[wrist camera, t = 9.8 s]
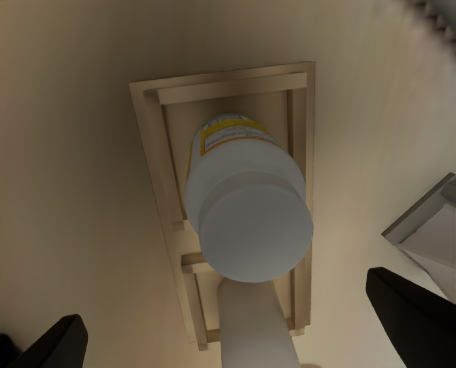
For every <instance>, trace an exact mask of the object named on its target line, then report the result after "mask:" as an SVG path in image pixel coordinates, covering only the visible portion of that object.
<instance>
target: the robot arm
mask: <svg viewBox="0 0 456 368" xmlns="http://www.w3.org/2000/svg"><path fill="white" fill-rule="evenodd" d="M366 293H367V296H368V298H369V300H370V302H371V304H372V306H373V308H374V310H375V312H376V314H377V316H378V318H379V320H380V322H381V324H382V326H383V328H384V330H385V332H386V333H387V335H388V337H389V339H390V341H391V343H392V345H393V346H394V348H395V350H396V351H397V353H398V354H399V356H400V358H401V359H402V361H403V362H404V364H405V365H406V367H407V368H456V304H454V303H452V302H450V301H448V300H446V299H444V298H442V297H440V296H438V295H436V294H435V293H433V292H431V291H429V290H427V289H425V288H423V287H421V286H419V285H417V284H415V283H413V282H411V281H409V280H407V279H405V278H403V277H401V276H399V275H398V274H396V273H394V272H392V271H390V270H388V269H386V268H384V267H375V268H370V269H369V270H368V273H367V281H366ZM87 343H88V332H87V330H86V328H85V325H84V323H83V321H82V318H81V316H80V315H78V314H73V315H67V316H64V317H62V318H61V319H60V320H59V321H58V322H57V323H56V324H54V325H53V326H52V327H51V328H50V329H49V330H48V331H47V332H46V333H45V334H44V335H42V336H41V337H40V338H39V339H38V340H37V341H36V342H35V343H34V344H33V345H31V346H30V347H29V348H28V349H27V350H26V351H25V352H24V353H23V354H22V355H20V356H19V354H18V353H17V351H16V350H15V348H14V346H13V345H12V343H11V341H10V340H9V338H8V337H6V336H4V335H0V368H82V366H83V361H84V356H85V352H86V347H87Z"/></svg>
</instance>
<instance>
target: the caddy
mask: <svg viewBox="0 0 456 368" xmlns="http://www.w3.org/2000/svg"><path fill="white" fill-rule="evenodd" d="M128 84H129V89H130V93H131V97H132V101H133V106H134V110H135V114H136V118H137V123H138V127H139V131H140V135H141V140H142V144H143V148H144V152H145V157H146V161H147V165H148V169H149V174H150V178H151V182H152V186H153V191H154V195H155V199H156V203H157V208H158V212H159V216H160V220H161V225H162V229H163V233H164V237H165V242H166V246H167V250H168V254H169V259H170V263H171V267H172V271H173V276H174V280H175V284H176V288H177V293H178V297H179V301H180V305H181V310H182V314H183V318H184V322H185V327H186V331H187V335H188V340H189V343H196V342H197V343H198V348H199V351H203V350H210V349H216V348H221V345H220V330H219V316H218V301H217V290H218V287H219V285H220V283H221V282H222V280H223V279H224V278H225V276H223V275H221V274H219V273H218V272H216V271H215V270H214V269H213V268H212V267H211V266H210V265H209V264H208V262H207V261H206V260H205V258H204V256H203V254H202V251H201V248H200V244H199V235H198V234H197V233H196V232H195V230H194V229H193V228H192V226H191V224H190V222H189V220H188V218H187V214H186V211H185V205H184V190H185V183H186V177H187V170H188V162H189V154H190V148H191V144H192V141H193V138H194V136H195V134H196V133H197V131H198V130H199V129H200V127H201V126H202V125H203V124H205V123H206V122H207V121H209V120H210V119H212V118H214V117H216V116H219V115H222V114H229V113H237V114H242V115H246V116H248V117H251V118H253V119H255V120H256V121H257V122H259V123H260V124H261V125H262V126H263V127H264V128H265V129H266V130H267V131H268V132H269V134H270V135H271V136H272V137H273V138H274V139H275V140H276V141H277V142H278V143H279V144H280V145H281V146H282V147H283V148H284V149H285V151H286V152H287V153H288V154H289V155H290V156H291V157H292V158H293V160H294V161H295V162H296V164H297V165H298V167H299V169H300V171H301V173H302V175H303V178H304V182H305V188H306V200H305V204H306V206H307V208H308V210H309V211H310V213H311V217H312V211H313V160H314V110H315V62H301V63H292V64H283V65H275V66H266V67H258V68H249V69H240V70H232V71H223V72H215V73H206V74H197V75H189V76H180V77H172V78H163V79H154V80H146V81H137V82H131V83H128ZM311 261H312V241H311V244H310V247H309V249H308V251H307V253H306V254H305V256H304V257H303V259H302V260H301V261H300V262H299V263H298V264H297V265H296V266H295V267H294V268H293V269H291V270H290V271H288V272H287V273H285V274H283V275H282V276H280V277H277V278H275V279H272V281H273V283H274V286H275V289H276V292H277V295H278V298H279V301H280V304H281V307H282V311H283V314H284V317H285V320H286V323H287V326H288V329H289V332H290V335H291V337H293V336H300V335H304V334H305V326H306V325H310V312H311Z"/></svg>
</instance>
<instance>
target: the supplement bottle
mask: <svg viewBox="0 0 456 368" xmlns="http://www.w3.org/2000/svg"><path fill="white" fill-rule="evenodd" d="M305 200H306V188H305V182H304V178H303V175H302V173H301V171H300V169H299V167H298V165H297V164H296V162H295V161H294V160H293V158H292V157H291V156H290V155H289V154H288V153H287V152H286V151H285V149H284V148H283V147H282V146H281V145H280V144H279V143H278V142H277V141H276V140H275V139H274V138H273V137H272V136H271V135H270V134H269V132H268V131H267V130H266V129H265V128H264V127H263V126H262V125H261V124H260V123H259V122H257V121H256V120H255V119H253V118H251V117H248V116H246V115H242V114H237V113H229V114H222V115H219V116H216V117H214V118H212V119H210V120H209V121H207V122H206V123H205V124H203V125H202V126H201V127H200V129H199V130H198V131H197V133H196V134H195V136H194V138H193V141H192V144H191V148H190V154H189V162H188V170H187V177H186V183H185V190H184V205H185V211H186V214H187V218H188V220H189V222H190V224H191V226H192V228H193V229H194V230H195V232H196V233H197V234H198V235H199V244H200V248H201V251H202V254H203V256H204V258H205V260H206V261H207V262H208V264H209V265H210V266H211V267H212V268H213V269H214V270H215V271H216V272H218V273H219V274H221V275H223V276H225V277H227V278H229V279H232V280H236V281H240V282H252V283H257V282H263V281H268V280H272V279H275V278H277V277H280V276H282V275H283V274H285V273H287V272H288V271H290V270H291V269H293V268H294V267H295V266H296V265H297V264H298V263H299V262H300V261H301V260H302V259H303V257H304V256H305V254H306V253H307V251H308V249H309V247H310V244H311V241H312V236H313V221H312V217H311V213H310V211H309V210H308V208H307V206H306V204H305Z"/></svg>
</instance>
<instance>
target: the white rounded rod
mask: <svg viewBox="0 0 456 368" xmlns="http://www.w3.org/2000/svg"><path fill="white" fill-rule="evenodd" d="M217 301H218V316H219V330H220V345H221V360H222V368H301V366H300V363H299V359H298V356H297V353H296V350H295V347H294V344H293V341H292V338H291V335H290V332H289V329H288V326H287V323H286V320H285V317H284V314H283V311H282V307H281V304H280V301H279V298H278V295H277V292H276V289H275V286H274V283H273V281H272V280H268V281H263V282H257V283H252V282H240V281H236V280H232V279H229V278H227V277H225V278H224V279H223V280H222V282H221V283H220V285H219V287H218V290H217Z"/></svg>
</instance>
